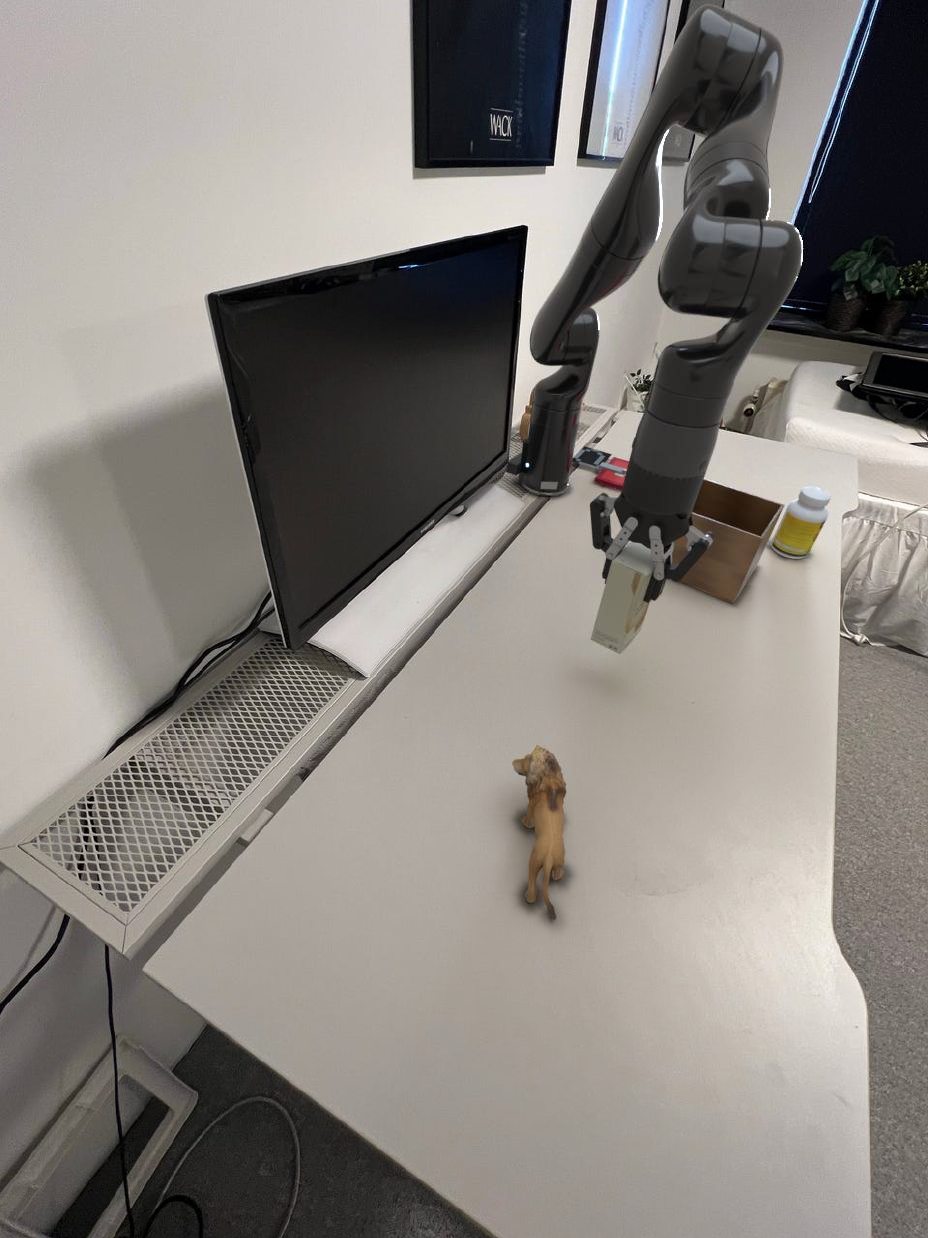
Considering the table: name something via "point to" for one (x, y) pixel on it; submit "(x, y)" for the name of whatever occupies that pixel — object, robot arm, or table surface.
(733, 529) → the carton
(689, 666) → the table surface
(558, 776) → the lion figurine
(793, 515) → the pill bottle
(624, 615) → the cosmetic box
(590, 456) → the red board with handle
